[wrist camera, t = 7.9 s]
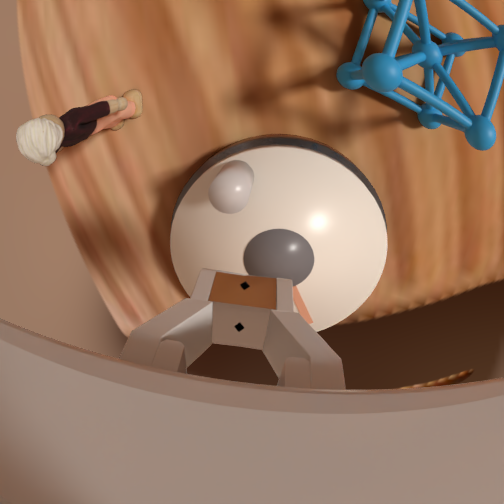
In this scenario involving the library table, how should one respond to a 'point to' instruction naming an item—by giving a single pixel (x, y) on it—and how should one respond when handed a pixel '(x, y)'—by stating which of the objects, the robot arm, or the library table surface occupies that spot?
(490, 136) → the molecular structure
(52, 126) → the grandmother figurine
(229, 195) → the turntable
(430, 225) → the library table surface
